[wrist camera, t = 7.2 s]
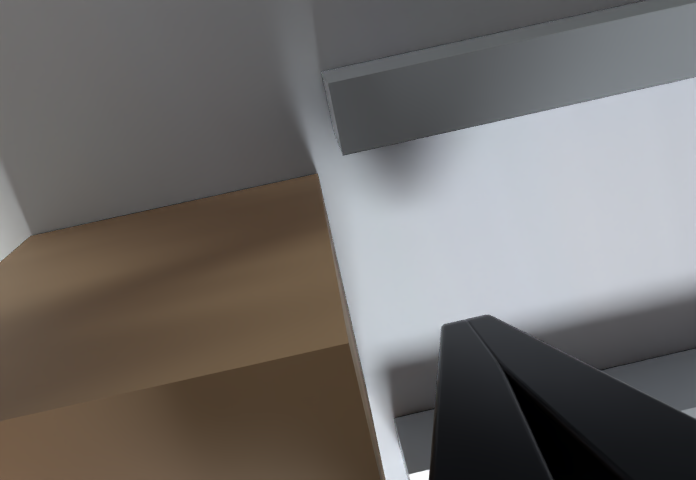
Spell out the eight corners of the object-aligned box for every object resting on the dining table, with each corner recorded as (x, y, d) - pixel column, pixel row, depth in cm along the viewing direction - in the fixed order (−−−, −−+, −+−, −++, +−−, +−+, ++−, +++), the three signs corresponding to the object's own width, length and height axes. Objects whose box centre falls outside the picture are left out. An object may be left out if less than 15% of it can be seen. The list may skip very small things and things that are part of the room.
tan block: (317, 173, 9) (349, 342, 4) (368, 395, 11) (424, 668, 6) (30, 235, 9) (-248, 476, 4) (136, 448, 11) (26, 761, 6)
